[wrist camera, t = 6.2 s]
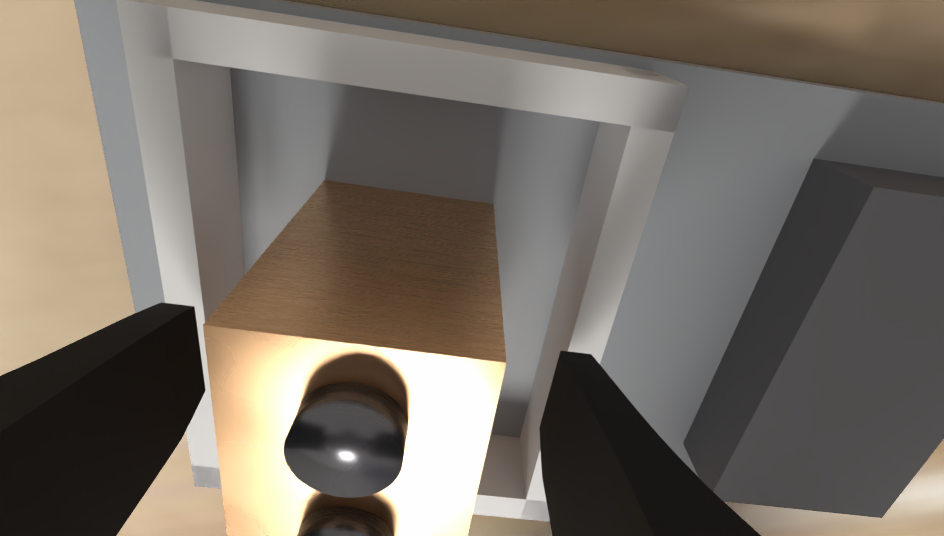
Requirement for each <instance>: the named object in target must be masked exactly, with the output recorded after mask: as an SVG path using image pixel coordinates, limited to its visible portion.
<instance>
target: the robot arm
mask: <svg viewBox="0 0 944 536" xmlns="http://www.w3.org/2000/svg"><path fill="white" fill-rule="evenodd" d="M205 391H206V390H205V383H204V375H203V367H202V360H201V352H200V345H199V337H198V329H197V322H196V314H195V307H194V306H187V305H178V304H170V303H162V302H161V303H159V304H156V305H154V306H151V307H149V308H146V309H144V310H142V311H139V312H137V313H135V314H133V315H131V316H128V317H126V318H124V319H122V320H120V321H118V322H116V323H114V324H111V325H109V326H107V327H105V328H103V329H101V330H99V331H97V332H95V333H93V334H91V335H88V336H86V337H84V338H82V339H80V340H78V341H76V342H74V343H72V344H69V345H67V346H65V347H63V348H61V349H59V350H57V351H55V352H53V353H50V354H48V355H46V356H44V357H42V358H40V359H38V360H36V361H33V362H31V363H29V364H26V365H24V366H22V367H20V368H17V369H15V370H13V371H11V372H8V373H6V374H4V375H1V376H0V536H116V535H117V534H118V532H119V531H120V529H121V528H122V526H123V525H124V523H125V522H126V520H127V519H128V518H129V516H130V515H131V513H132V512H133V510H134V509H135V507H136V506H137V504H138V503H139V501H140V500H141V498H142V497H143V496H144V494H145V493H146V491H147V490H148V488H149V487H150V485H151V484H152V482H153V481H154V479H155V478H156V476H157V475H158V473H159V472H160V470H161V469H162V467H163V466H164V465H165V463H166V462H167V460H168V459H169V457H170V456H171V454H172V453H173V451H174V450H175V448H176V446H177V445H178V443H179V442H180V440H181V439H182V437H183V435H184V433H185V431H186V429H187V427H188V425H189V423H190V422H191V420H192V418H193V416H194V414H195V412H196V409H197V407H198V405H199V403H200V401H201V399H202V397H203V395H204V393H205ZM539 430H540V451H541V467H542V479H543V485H544V490H545V496H546V502H547V508H548V513H549V519H550V524H551V530H552V535H553V536H761V535H760V534H758V533H757V532H756V531H755V530H754V529H753V528H752V527H751V526H750V525H748V524H747V523H746V522H745V521H744V520H743V519H742V518H741V517H740V516H739V515H738V514H736V513H735V512H734V511H733V510H732V509H731V508H730V507H729V506H728V505H727V504H725V503H724V502H723V501H722V500H721V499H720V498H719V497H718V496H717V495H716V494H715V493H714V492H713V491H712V490H711V489H710V488H709V487H708V486H707V485H706V484H705V483H704V482H703V481H702V480H701V479H700V478H699V477H698V476H697V475H696V474H695V473H694V472H693V471H692V470H691V469H690V468H689V467H688V466H687V465H686V464H685V463H684V462H683V461H682V460H681V459H680V458H679V457H678V455H677V454H676V453H675V452H674V451H673V450H672V449H671V448H670V447H669V446H668V445H667V444H666V442H665V441H664V440H663V439H662V438H661V437H660V436H659V435H658V434H657V432H656V431H655V430H654V429H653V428H652V427H651V426H650V424H649V423H648V422H647V421H646V420H645V419H644V417H643V416H642V415H641V414H640V413H639V412H638V410H637V409H636V408H635V407H634V406H633V404H632V403H631V402H630V401H629V400H628V398H627V397H626V396H625V395H624V394H623V392H622V391H621V390H620V389H619V387H618V386H617V385H616V384H615V382H614V381H613V380H612V379H611V378H610V376H609V375H608V374H607V373H606V371H605V370H604V369H603V368H602V366H601V365H600V364H599V363H598V362H597V360H596V359H595V358H594V357H593V356H592V355H591V354H586V353H577V352H569V351H561V350H560V354H559V358H558V361H557V365H556V369H555V372H554V376H553V380H552V383H551V387H550V391H549V394H548V398H547V402H546V405H545V409H544V413H543V416H542V420H541V424H540V427H539Z"/></svg>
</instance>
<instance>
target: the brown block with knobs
mask: <svg viewBox="0 0 944 536" xmlns="http://www.w3.org/2000/svg"><path fill="white" fill-rule="evenodd" d="M203 331H204V339H205V348H206V356H207V365H208V374H209V382H210V391H211V400H212V408H213V417H214V426H215V434H216V443H217V452H218V460H219V469H220V478H221V486H222V495H223V504H224V512H225V521H226V529H227V536H468V531H469V527H470V522H471V518H472V514H473V509H474V505H475V500H476V496H477V491H478V487H479V483H480V478H481V474H482V469H483V465H484V460H485V456H486V451H487V447H488V443H489V438H490V434H491V429H492V425H493V420H494V416H495V412H496V407H497V403H498V398H499V394H500V389H501V385H502V381H503V376H504V372H505V367H506V351H505V338H504V326H503V313H502V301H501V289H500V276H499V264H498V251H497V239H496V227H495V214H494V204H489V203H482V202H475V201H468V200H461V199H454V198H447V197H440V196H433V195H426V194H419V193H412V192H405V191H398V190H391V189H385V188H378V187H371V186H364V185H357V184H350V183H343V182H336V181H329V180H324V181H323V182H322V183H321V185H320V186H319V187H318V188H317V189H316V191H315V192H314V193H313V194H312V195H311V197H310V198H309V199H308V200H307V201H306V203H305V204H304V205H303V206H302V207H301V208H300V210H299V211H298V212H297V213H296V214H295V216H294V217H293V218H292V219H291V220H290V222H289V223H288V224H287V225H286V226H285V228H284V229H283V230H282V231H281V232H280V234H279V235H278V236H277V237H276V238H275V240H274V241H273V242H272V243H271V244H270V245H269V247H268V248H267V249H266V250H265V251H264V253H263V254H262V255H261V256H260V257H259V259H258V260H257V261H256V262H255V263H254V265H253V266H252V267H251V268H250V269H249V271H248V272H247V273H246V274H245V275H244V276H243V278H242V279H241V280H240V281H239V282H238V284H237V285H236V286H235V287H234V288H233V290H232V291H231V292H230V293H229V294H228V296H227V297H226V298H225V299H224V300H223V302H222V303H221V304H220V305H219V306H218V308H217V309H216V310H215V311H214V312H213V313H212V315H211V316H210V317H209V318H208V319H207V321H206V322H205V323H204V324H203Z"/></svg>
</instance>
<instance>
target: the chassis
mask: <svg viewBox="0 0 944 536" xmlns="http://www.w3.org/2000/svg"><path fill="white" fill-rule="evenodd" d="M74 2H75V7H76V12H77V18H78V23H79V28H80V33H81V38H82V43H83V48H84V53H85V58H86V63H87V69H88V74H89V79H90V84H91V89H92V94H93V99H94V104H95V109H96V114H97V119H98V125H99V130H100V135H101V140H102V145H103V150H104V155H105V160H106V165H107V170H108V175H109V181H110V186H111V191H112V196H113V201H114V206H115V211H116V216H117V221H118V226H119V232H120V237H121V242H122V247H123V252H124V257H125V262H126V267H127V272H128V277H129V282H130V288H131V293H132V298H133V303H134V308H135V313H137V312H139V311H142V310H144V309H146V308H149V307H151V306H154V305H156V304H159V303H161V302H162V303H170V304H178V305H187V306H194V307H195V314H196V322H197V329H198V337H199V345H200V352H201V360H202V367H203V375H204V383H205V390H206V391H205V393H204V395H203V397H202V399H201V401H200V403H199V405H198V407H197V409H196V412H195V414H194V416H193V418H192V420H191V422H190V423H189V425H188V427H187V429H186V434H187V440H188V446H189V453H190V459H191V465H192V471H193V477H194V483H195V486H199V487H208V488H218V489H222V486H221V478H220V469H219V460H218V452H217V443H216V434H215V426H214V417H213V408H212V400H211V391H210V382H209V374H208V365H207V356H206V348H205V339H204V331H203V324H204V323H205V322H206V321H207V319H208V318H209V317H210V316H211V315H212V313H213V312H214V311H215V310H216V309H217V308H218V306H219V305H220V304H221V303H222V302H223V300H224V299H225V298H226V297H227V296H228V294H229V293H230V292H231V291H232V290H233V288H234V287H235V286H236V285H237V284H238V282H239V281H240V280H241V279H242V278H243V276H244V275H245V274H246V273H247V272H248V271H249V269H250V268H251V267H252V266H253V265H254V263H255V262H256V261H257V260H258V259H259V257H260V256H261V255H262V254H263V253H264V251H265V250H266V249H267V248H268V247H269V245H270V244H271V243H272V242H273V241H274V240H275V238H276V237H277V236H278V235H279V234H280V232H281V231H282V230H283V229H284V228H285V226H286V225H287V224H288V223H289V222H290V220H291V219H292V218H293V217H294V216H295V214H296V213H297V212H298V211H299V210H300V208H301V207H302V206H303V205H304V204H305V203H306V201H307V200H308V199H309V198H310V197H311V195H312V194H313V193H314V192H315V191H316V189H317V188H318V187H319V186H320V185H321V183H322V182H323V181H324V180H329V181H336V182H343V183H350V184H357V185H364V186H371V187H378V188H385V189H391V190H398V191H405V192H412V193H419V194H426V195H433V196H440V197H447V198H454V199H461V200H468V201H475V202H482V203H489V204H494V214H495V227H496V239H497V251H498V264H499V276H500V289H501V301H502V313H503V326H504V338H505V351H506V367H505V372H504V376H503V381H502V385H501V389H500V394H499V398H498V403H497V407H496V412H495V416H494V420H493V425H492V429H491V434H490V438H489V443H488V447H487V451H486V456H485V460H484V465H483V469H482V474H481V478H480V483H479V487H478V491H477V496H476V500H475V505H474V509H473V514H476V515H486V516H496V517H506V518H516V519H526V520H536V521H546V522H549V520H550V519H549V513H548V508H547V502H546V496H545V490H544V485H543V479H542V467H541V451H540V430H539V427H540V424H541V420H542V416H543V413H544V409H545V405H546V402H547V398H548V394H549V391H550V387H551V383H552V380H553V376H554V372H555V369H556V365H557V361H558V358H559V354H560V350H561V351H569V352H577V353H586V354H591V355H592V356H593V357H594V358H595V359H596V360H597V362H598V363H599V364H600V365H601V366H602V368H603V369H604V370H605V371H606V373H607V374H608V375H609V376H610V378H611V379H612V380H613V381H614V382H615V384H616V385H617V386H618V387H619V389H620V390H621V391H622V392H623V394H624V395H625V396H626V397H627V398H628V400H629V401H630V402H631V403H632V404H633V406H634V407H635V408H636V409H637V410H638V412H639V413H640V414H641V415H642V416H643V417H644V419H645V420H646V421H647V422H648V423H649V424H650V426H651V427H652V428H653V429H654V430H655V431H656V432H657V434H658V435H659V436H660V437H661V438H662V439H663V440H664V441H665V442H666V444H667V445H668V446H669V447H670V448H671V449H672V450H673V451H674V452H675V453H676V454H677V455H678V457H679V458H680V459H681V460H682V461H683V462H684V463H685V464H686V465H687V466H688V467H689V468H690V469H691V470H692V471H693V472H694V473H695V474H696V475H697V476H698V477H699V478H700V479H701V480H702V481H703V482H704V483H705V484H706V485H707V486H708V487H709V488H710V489H711V490H712V491H713V492H714V493H715V494H716V495H717V496H718V497H719V498H720V499H721V500H722V501H727V502H736V503H746V504H755V505H765V506H774V507H784V508H793V509H803V510H812V511H822V512H831V513H841V514H850V515H860V516H869V517H879V518H882V517H883V516H884V514H885V513H886V512H887V510H888V509H889V508H890V507H891V505H892V504H893V503H894V502H895V500H896V499H897V498H898V496H899V495H900V494H901V493H902V491H903V490H904V489H905V487H906V486H907V485H908V484H909V482H910V481H911V480H912V478H913V477H914V476H915V475H916V473H917V472H918V471H919V470H920V468H921V467H922V466H923V464H924V463H925V462H926V461H927V459H928V458H929V457H930V455H931V454H932V453H933V452H934V450H935V449H936V448H937V446H938V445H939V444H940V443H941V441H942V440H943V439H944V103H943V102H937V101H931V100H924V99H918V98H911V97H905V96H898V95H892V94H886V93H879V92H873V91H866V90H860V89H853V88H847V87H840V86H834V85H828V84H821V83H815V82H808V81H802V80H795V79H789V78H782V77H776V76H770V75H763V74H757V73H750V72H744V71H737V70H731V69H725V68H718V67H712V66H705V65H699V64H692V63H686V62H679V61H673V60H667V59H660V58H654V57H647V56H641V55H634V54H628V53H621V52H615V51H609V50H602V49H596V48H589V47H583V46H576V45H570V44H564V43H557V42H551V41H544V40H538V39H531V38H525V37H518V36H512V35H506V34H499V33H493V32H486V31H480V30H473V29H467V28H461V27H454V26H448V25H441V24H435V23H428V22H422V21H415V20H409V19H403V18H396V17H390V16H383V15H377V14H370V13H364V12H357V11H351V10H345V9H338V8H332V7H325V6H319V5H312V4H306V3H300V2H293V1H287V0H74Z"/></svg>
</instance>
